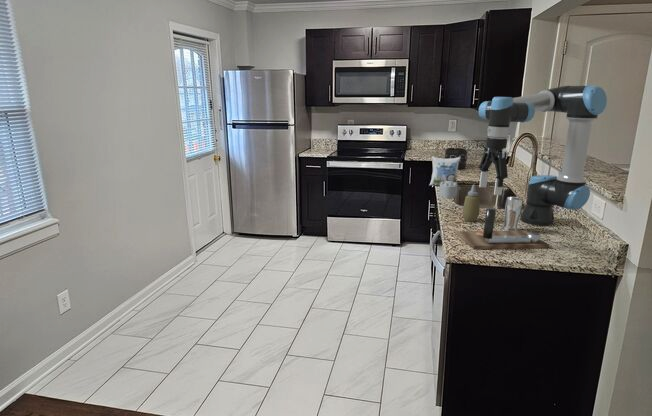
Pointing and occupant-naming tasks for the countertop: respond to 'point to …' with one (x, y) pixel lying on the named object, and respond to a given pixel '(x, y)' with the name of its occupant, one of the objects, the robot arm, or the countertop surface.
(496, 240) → the lever
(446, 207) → the countertop surface
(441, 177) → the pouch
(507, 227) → the beer glass
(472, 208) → the squeeze bottle
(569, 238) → the countertop surface
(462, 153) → the dark rounded-top box
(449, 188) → the lumpy-topped squat cylinder
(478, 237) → the lever board
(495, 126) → the robot arm
